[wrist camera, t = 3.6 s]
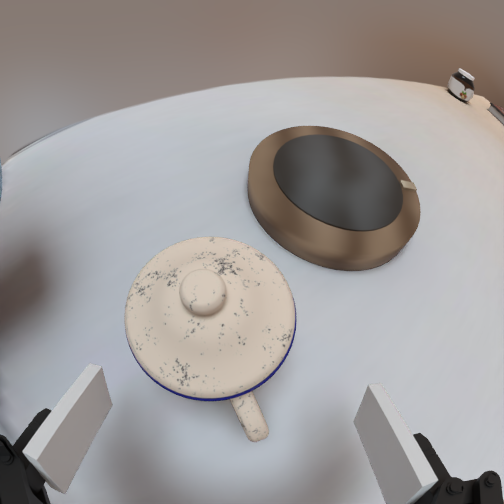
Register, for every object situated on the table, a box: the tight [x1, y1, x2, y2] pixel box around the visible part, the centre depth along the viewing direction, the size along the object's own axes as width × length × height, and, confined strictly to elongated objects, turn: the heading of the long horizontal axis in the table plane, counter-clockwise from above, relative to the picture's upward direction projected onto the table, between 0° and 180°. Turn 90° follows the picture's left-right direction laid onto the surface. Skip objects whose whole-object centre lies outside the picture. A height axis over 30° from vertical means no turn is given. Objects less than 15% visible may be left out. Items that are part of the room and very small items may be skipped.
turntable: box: [248, 126, 420, 271], centre depth 29 cm, size 20×20×3 cm
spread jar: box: [448, 68, 474, 102], centre depth 63 cm, size 12×11×12 cm
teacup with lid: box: [125, 237, 296, 442], centre depth 15 cm, size 12×9×12 cm
